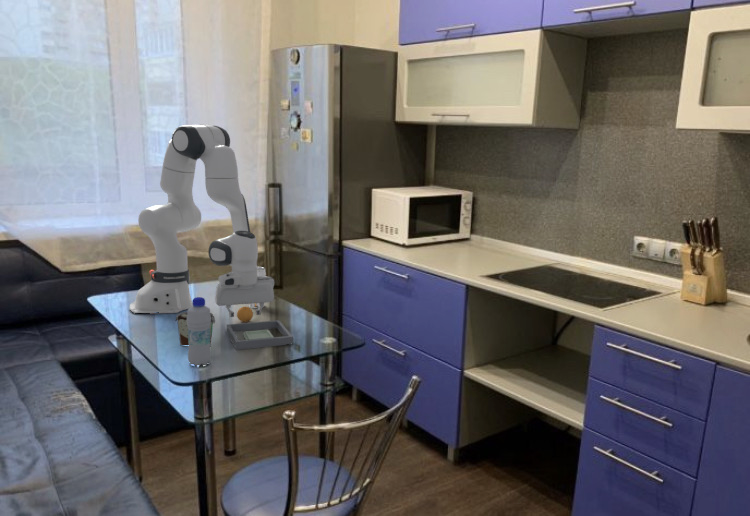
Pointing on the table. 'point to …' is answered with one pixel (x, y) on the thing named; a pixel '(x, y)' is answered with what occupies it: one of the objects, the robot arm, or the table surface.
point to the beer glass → (260, 274)
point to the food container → (183, 327)
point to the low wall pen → (258, 343)
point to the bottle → (199, 332)
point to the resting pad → (257, 334)
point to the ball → (244, 314)
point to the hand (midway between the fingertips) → (244, 315)
